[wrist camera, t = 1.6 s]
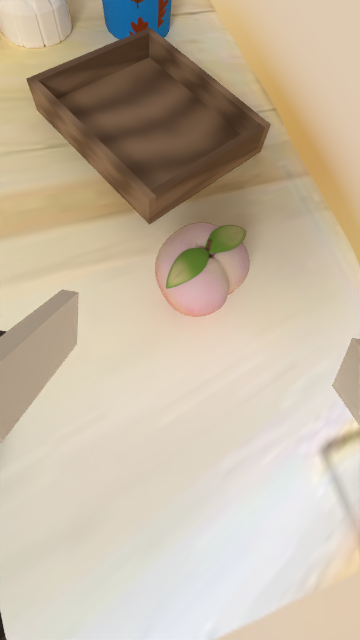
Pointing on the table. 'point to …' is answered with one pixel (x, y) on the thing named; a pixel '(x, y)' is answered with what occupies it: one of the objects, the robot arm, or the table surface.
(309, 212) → the table surface
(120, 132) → the walnut tray
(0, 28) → the decorative vase
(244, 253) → the decorative fruit
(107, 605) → the table surface
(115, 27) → the thermos
